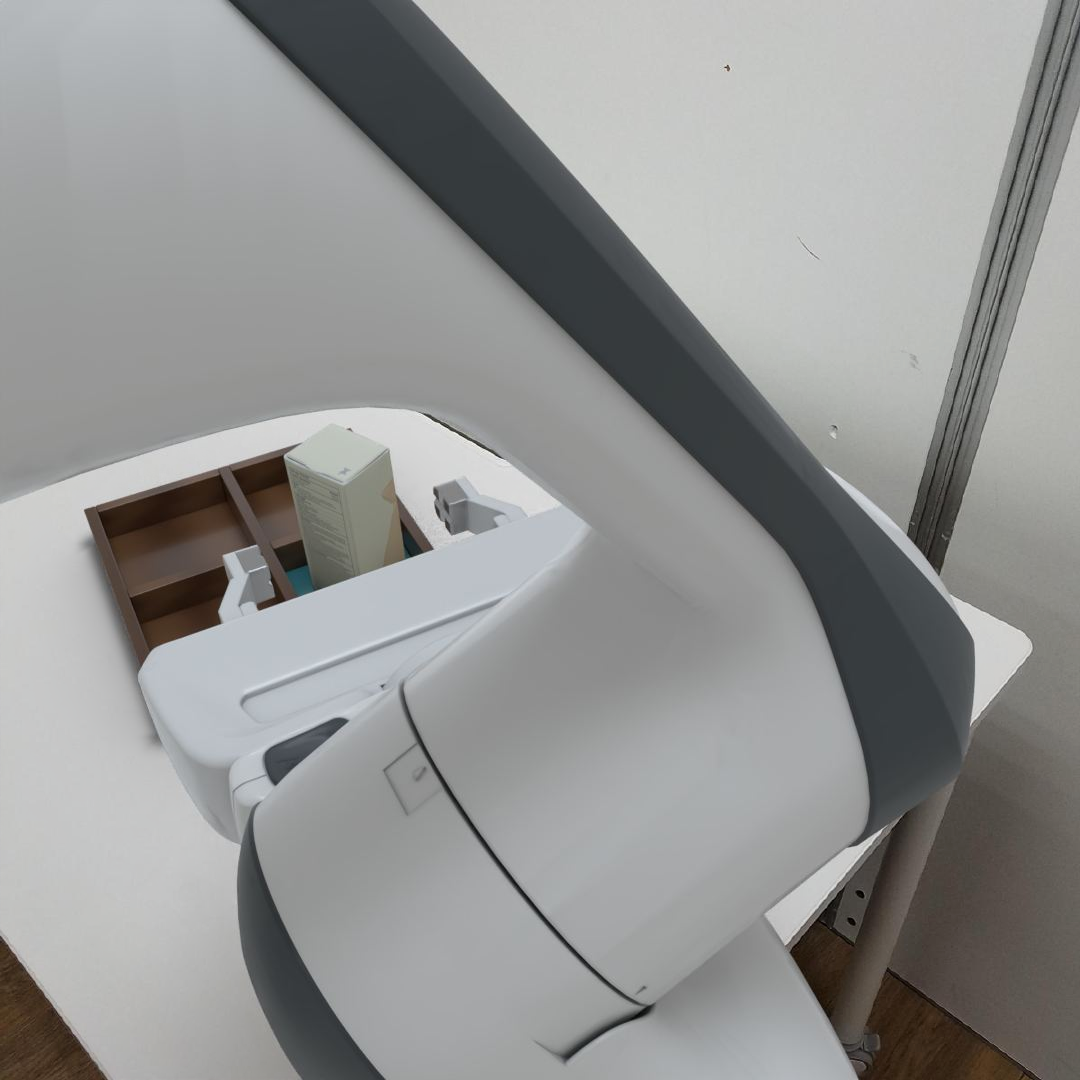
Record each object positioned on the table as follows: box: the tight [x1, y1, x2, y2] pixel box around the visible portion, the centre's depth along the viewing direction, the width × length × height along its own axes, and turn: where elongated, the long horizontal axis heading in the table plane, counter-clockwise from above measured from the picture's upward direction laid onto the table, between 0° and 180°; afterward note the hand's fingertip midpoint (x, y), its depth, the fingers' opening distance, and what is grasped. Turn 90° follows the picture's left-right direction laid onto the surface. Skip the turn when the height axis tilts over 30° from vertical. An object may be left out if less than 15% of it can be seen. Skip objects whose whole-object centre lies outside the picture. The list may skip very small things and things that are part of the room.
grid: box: [83, 427, 435, 669], centre depth 74 cm, size 19×19×3 cm
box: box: [284, 423, 406, 590], centre depth 70 cm, size 5×4×11 cm
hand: (348, 525), depth 48 cm, fingers open, 8 cm apart
